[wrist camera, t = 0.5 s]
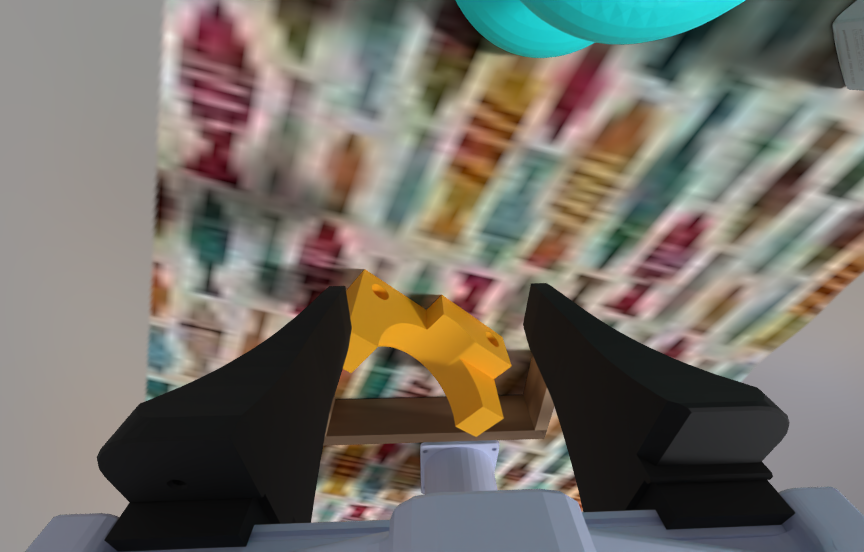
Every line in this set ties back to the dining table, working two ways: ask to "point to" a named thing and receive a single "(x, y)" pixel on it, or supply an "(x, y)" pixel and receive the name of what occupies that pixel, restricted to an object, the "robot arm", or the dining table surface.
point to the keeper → (437, 418)
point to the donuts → (584, 22)
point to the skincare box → (851, 44)
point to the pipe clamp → (431, 346)
